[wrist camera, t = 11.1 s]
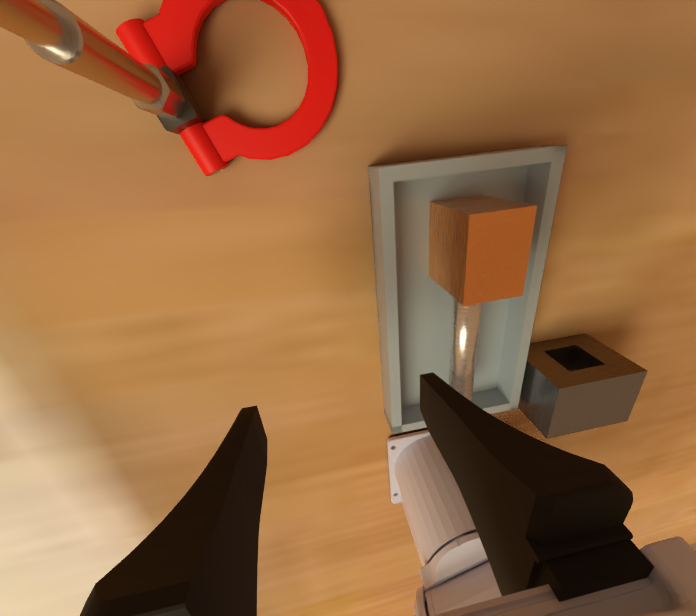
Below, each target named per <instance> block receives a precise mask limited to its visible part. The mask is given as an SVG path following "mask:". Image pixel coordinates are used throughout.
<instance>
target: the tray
mask: <svg viewBox="0 0 696 616" xmlns="http://www.w3.org/2000/svg"><path fill="white" fill-rule="evenodd" d="M566 148H567V145H553V146H534V147H526V148H518V149H509V150H501V151H492V152H484V153H476V154H467V155H459V156H451V157H442V158H434V159H426V160H417V161H409V162H400V163H392V164H384V165H375V166H368V172H369V187H370V202H371V217H372V232H373V247H374V262H375V277H376V292H377V307H378V322H379V337H380V352H381V367H382V382H383V397H384V412H385V415H386V418H387V420H388V423H389V426H390V429H391V431H392V434H397V433H401V432H406V431H411V430H416V429H421V428H426V427H427V426H426V424H425V421H424V419H423V416H422V413H421V411H420V375H421V374H427V373H432V372H433V373H435V374H436V375H437V376H438V377H440V378H441V379H442V380H444V381H445V382H446V383H447V384H448V383H449V364H450V346H451V327H452V308H453V297H452V296H451V295H450V294H449V293H448V292H447V291H446V290H444V289H443V288H442V287H441V286H440V285H439V284H437V283H436V282H435V281H434V280H433V279H432V278H431V277H429V217H430V202H433V201H440V200H448V199H455V198H463V197H470V196H478V195H487V196H492V197H497V198H502V199H507V200H513V201H518V202H523V203H528V204H533V205H537V211H536V217H535V223H534V229H533V235H532V241H531V248H530V254H529V260H528V266H527V272H526V278H525V285H524V291H523V296H518V297H512V298H507V299H501V300H495V301H489V302H483V303H482V305H481V315H480V325H479V335H478V345H477V356H476V366H475V376H474V386H473V396H472V402H473V403H474V404H475V405H477V406H478V407H480V408H481V409H483V410H484V411H486V412H487V413H489V414H493V413H498V412H503V411H508V410H513V409H517V408H518V404H519V399H520V394H521V388H522V383H523V378H524V372H525V367H526V362H527V356H528V351H529V346H530V340H531V335H532V330H533V324H534V319H535V314H536V308H537V303H538V298H539V292H540V287H541V282H542V276H543V271H544V266H545V260H546V255H547V250H548V244H549V239H550V234H551V228H552V223H553V218H554V212H555V207H556V202H557V196H558V191H559V186H560V180H561V175H562V170H563V164H564V159H565V154H566Z"/></svg>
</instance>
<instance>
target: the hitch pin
mask: <svg viewBox="0 0 696 616" xmlns="http://www.w3.org/2000/svg"><path fill="white" fill-rule="evenodd" d="M536 211H537V205H533V204H528V203H523V202H518V201H513V200H507V199H502V198H497V197H492V196H487V195H478V196H470V197H463V198H455V199H448V200H440V201H433V202H430V217H429V277H431V278H432V279H433V280H434V281H435V282H436V283H437V284H439V285H440V286H441V287H442V288H443V289H444V290H446V291H447V292H448V293H449V294H450V295H451V296H452V297H453V308H452V327H451V346H450V364H449V383H448V384H449V385H450V386H451V387H452V388H454V389H455V390H456V391H458V392H459V393H460V394H462V395H463V396H464V397H466V398H467V399H468V400H470V401H471V402H472V396H473V386H474V376H475V366H476V356H477V345H478V335H479V325H480V315H481V305H482V303H483V302H489V301H495V300H501V299H507V298H512V297H518V296H523V291H524V285H525V278H526V272H527V266H528V260H529V254H530V248H531V241H532V235H533V229H534V223H535V217H536Z"/></svg>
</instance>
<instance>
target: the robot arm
mask: <svg viewBox="0 0 696 616" xmlns="http://www.w3.org/2000/svg"><path fill="white" fill-rule="evenodd" d="M420 411H421V413H422V416H423V419H424V421H425V424H426V426H427V429H428V430H424V431H419V432H414V433H409V434H404V435H400V436H395V437H391V438H389V439H388V440H387V448H388V464H389V479H390V494H391V501H392V503H400V502H402V505H403V508H404V511H405V514H406V517H407V520H408V524H409V527H410V530H411V533H412V536H413V539H414V542H415V546H416V549H417V552H418V555H419V558H420V561H421V563H422V565H423V567H422V568H420V569H419V572H420V575H421V578H422V582H423V585H424V586H422V587H420V588H419V589H418V590H417V593H416V601H415V606H414V613H415V616H696V551H695V550H694V549H693V548H692V547H691V546H690V545H689V544H688V543H687V542H686V541H685V540H684V539H683V538H682V537H674V538H670V539H666V540H662V541H658V542H655V543H651V544H648V545H646V546H644V547H643V548H641V549H640V550H639V549H638V548H637V547H636V546H635V544H634V543H633V542H632V541H631V540H630V539H632V538H633V535H632V533H631V532H630V531H629V530H628V529H627V528H626V526H625V525H624V524H623V522H624V520H625V518H626V516H627V514H628V512H629V510H630V508H631V506H632V502H633V494H632V492H631V490H630V489H629V488H628V487H627V486H626V485H625V484H624V483H623V482H622V481H621V480H620V479H619V478H618V477H617V476H616V475H615V474H614V473H613V472H612V471H611V470H610V469H608V468H607V467H606V466H605V465H603V464H600V463H597V462H595V461H592V460H589V459H586V458H583V457H580V456H577V455H574V454H571V453H569V452H566V451H563V450H561V449H558V448H556V447H553V446H551V445H549V444H546V443H544V442H542V441H540V440H537V439H535V438H533V437H531V436H529V435H527V434H525V433H523V432H521V431H519V430H517V429H515V428H513V427H511V426H509V425H508V424H506V423H504V422H502V421H501V420H499V419H497V418H495V417H494V416H492V415H491V414H489V413H487V412H486V411H484V410H483V409H481V408H480V407H478V406H477V405H475V404H474V403H473V402H471V401H470V400H468V399H467V398H466V397H464V396H463V395H462V394H460V393H459V392H458V391H456V390H455V389H454V388H452V387H451V386H450V385H449V384H447V383H446V382H445V381H444V380H442V379H441V378H440V377H438V376H437V375H436V374H435V373H433V372H432V373H427V374H421V375H420ZM266 468H267V437H266V434H265V431H264V428H263V424H262V421H261V418H260V415H259V411H258V408H257V406H252V407H247V408H242V409H241V411H240V412H239V414H238V416H237V418H236V419H235V421H234V423H233V425H232V427H231V428H230V430H229V432H228V434H227V435H226V437H225V439H224V440H223V442H222V443H221V445H220V447H219V448H218V450H217V451H216V453H215V455H214V456H213V458H212V459H211V460H210V462H209V463H208V465H207V466H206V468H205V469H204V471H203V472H202V473H201V475H200V476H199V478H198V479H197V480H196V482H195V483H194V484H193V486H192V487H191V488H190V489H189V491H188V492H187V493H186V494H185V496H184V497H183V498H182V499H181V500H180V502H179V503H178V504H177V505H176V506H175V507H174V509H173V510H172V511H171V512H170V513H169V514H168V515H167V516H166V517H165V519H164V520H163V521H162V522H161V523H160V524H159V525H158V526H157V527H156V528H155V529H154V530H153V531H152V532H151V533H150V534H149V535H148V536H147V537H146V538H145V539H144V540H143V541H142V542H141V543H140V544H139V545H138V546H137V547H136V548H135V549H134V550H133V551H132V552H131V553H130V554H129V555H128V556H126V557H125V558H124V559H123V560H122V561H121V562H120V563H119V564H118V565H116V566H115V567H114V568H113V569H112V570H111V571H110V572H109V573H107V574H106V575H105V576H104V577H103V578H102V579H101V580H99V581H98V582H97V583H96V584H95V586H94V588H93V590H92V592H91V593H90V595H89V597H88V599H87V601H86V603H85V605H84V607H83V610H82V612H81V614H80V616H257V563H258V536H259V523H260V514H261V507H262V499H263V491H264V484H265V476H266Z"/></svg>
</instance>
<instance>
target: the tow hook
mask: <svg viewBox="0 0 696 616" xmlns="http://www.w3.org/2000/svg"><path fill="white" fill-rule="evenodd" d="M224 1H226V0H163V2H162V5H161V8H160V14H158V15H156V16H154V17H152V18H151V19H149V20H147V21H144V20H142V19H131V20H128V21H126V22H124V23H122V24H121V25H120V26H118V28H117V30H116V34H117V35H118V37H119V38H120V40H121V42H122V43H123V45H124V46H125V48H126V50H127V51H128V53H129V54H128V53H127V52H126V51H124V50H123V49H121V48H120V47H119V46H117V45H116V44H115V43H113V42H112V41H111V40H109V39H108V38H107V37H105V36H104V35H103V34H101V33H100V32H98V31H97V30H96V29H94V28H93V27H92V26H90V25H89V24H88V23H86V22H85V21H84V20H82V19H81V18H79V17H78V16H77V15H75V14H74V13H73V12H71V11H70V10H69V9H67V8H66V7H65V6H63V5H62V4H60V3H59V2H57V1H55V0H0V27H2V28H4V29H6V30H8V31H10V32H12V33H14V34H16V35H18V36H20V37H22V38H24V39H25V41H26V43H27V44H28V45H29V46H30V47H31V49H32V50H33V51H34V52H35V53H37V54H38V55H39V56H40V57H42V58H43V59H45V60H47V61H49V62H51V63H53V64H56V65H58V66H60V67H62V68H65V69H67V70H69V71H71V72H74V73H76V74H78V75H80V76H83V77H85V78H87V79H89V80H92V81H94V82H96V83H98V84H101V85H103V86H105V87H107V88H110V89H112V90H114V91H116V92H119V93H121V94H123V95H125V96H128V97H130V98H131V99H132V100H133V102H134V103H135V105H136V106H137V107H138V108H140V109H142V110H145V111H147V112H150V113H152V114H155V115H157V117H158V118H159V120H160V121H161V123H162V124H163V126H164V128H165V129H166V130H167V131H170V132H173V133H176V134H180V136H181V137H182V139H183V141H184V142H185V144H186V145H187V147H188V149H189V150H190V152H191V153H192V155H193V157H194V158H195V160H196V161H197V163H198V165H199V166H200V168H201V169H202V171H203V173H204V174H205V176H210V175H213V174H216V173H218V172H220V171H222V170H223V169H225V168H226V167H227V166H228V163H227V162H228V161H229V160H231V159H233V158H235V157H237V156H239V155H240V156H243V157H246V158H249V159H267V160H271V159H275V158H279V157H284V156H288V155H290V154H292V153H294V152H295V151H297V150H299V149H301V148H302V147H304V146H306V145H307V144H308V143H309V142H310V141H311V140H312V139H313V138H314V137H315V136H316V135H317V134H318V132H319V131H320V130H321V129H322V127H323V125H324V123H325V121H326V119H327V118H328V116H329V114H330V112H331V110H332V106H333V102H334V98H335V94H336V90H337V81H338V58H337V53H336V47H335V42H334V36H333V32H332V30H331V27H330V25H329V22H328V20H327V18H326V15H325V13H324V10H323V8H322V6H321V4H320V3H319V1H318V0H261V1H263V2H265V3H267V4H269V5H271V6H273V7H274V8H275V9H277V10H278V11H279V12H280V13H281V14H282V15H284V16H285V17H286V18H287V19H288V21H289V22H290V24H291V25H292V26H293V28H294V29H295V30H296V32H297V34H298V36H299V38H300V40H301V43H302V45H303V47H304V50H305V54H306V59H307V64H308V85H307V89H306V93H305V97H304V99H303V101H302V103H301V105H300V107H299V109H298V110H297V111H296V112H295V113H294V114H293V115H292V116H291V118H290V119H288V120H286V121H285V122H283V123H281V124H280V125H278V126H273V127H269V128H251V127H248V126H245V125H242V124H240V123H237V122H235V121H234V120H232V119H231V118H229V117H228V116H226V115H219V116H217V117H215V118H213V119H211V120H209V121H207V122H205V119H204V117H203V115H202V114H201V112H200V110H199V109H198V107H197V105H196V103H195V102H194V100H193V98H192V96H191V95H190V93H189V91H188V90H187V88H186V86H185V84H184V83H183V81H182V79H181V78H180V77H179V76H178V75H180V74H182V73H184V72H186V71H188V70H190V69H192V68H194V67H195V65H196V62H197V56H196V49H197V40H198V34H199V32H200V29H201V27H202V24H203V22H204V19H205V18H206V17H207V16H208V15H209V13H210V12H211V11H212V10H213V8H214V7H216V6H218V5H219V4H221V3H222V2H224ZM204 122H205V123H204Z"/></svg>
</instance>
